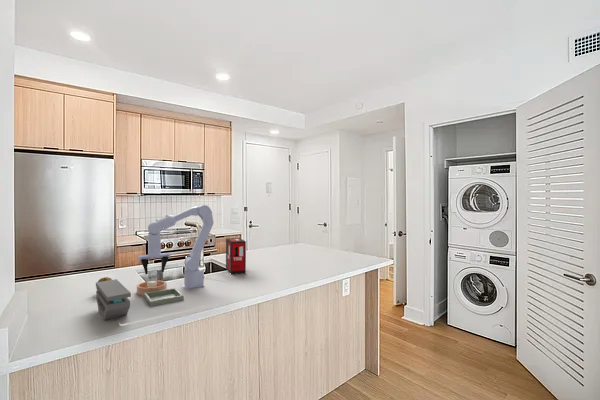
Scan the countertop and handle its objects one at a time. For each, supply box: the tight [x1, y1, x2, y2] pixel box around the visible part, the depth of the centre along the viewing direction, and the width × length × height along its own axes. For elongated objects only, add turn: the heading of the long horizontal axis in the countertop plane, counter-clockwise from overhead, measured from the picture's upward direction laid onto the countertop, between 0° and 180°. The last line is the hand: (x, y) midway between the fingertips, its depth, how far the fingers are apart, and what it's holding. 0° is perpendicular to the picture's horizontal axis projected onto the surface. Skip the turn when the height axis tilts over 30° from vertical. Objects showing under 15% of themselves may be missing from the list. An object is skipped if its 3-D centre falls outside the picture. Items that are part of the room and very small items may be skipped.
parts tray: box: [143, 287, 185, 307], centre depth 143 cm, size 14×14×3 cm
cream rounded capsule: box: [146, 280, 158, 288], centre depth 154 cm, size 4×4×4 cm
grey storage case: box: [95, 279, 132, 321], centre depth 126 cm, size 25×8×11 cm, turn 42°
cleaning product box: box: [225, 237, 247, 275], centre depth 198 cm, size 16×9×20 cm, turn 25°
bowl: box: [136, 279, 168, 297], centre depth 154 cm, size 13×13×4 cm
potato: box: [95, 276, 113, 291], centre depth 149 cm, size 8×13×8 cm, turn 26°
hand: (154, 272), depth 156 cm, fingers open, 7 cm apart
